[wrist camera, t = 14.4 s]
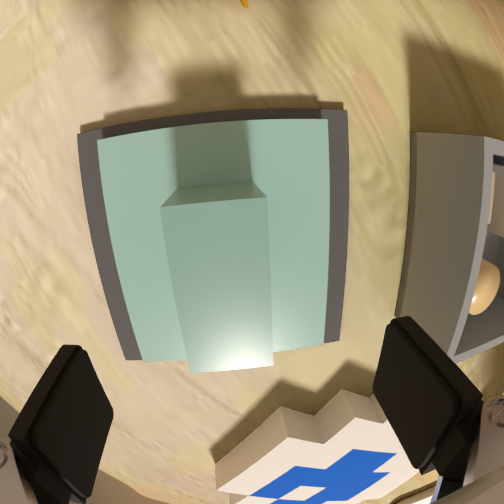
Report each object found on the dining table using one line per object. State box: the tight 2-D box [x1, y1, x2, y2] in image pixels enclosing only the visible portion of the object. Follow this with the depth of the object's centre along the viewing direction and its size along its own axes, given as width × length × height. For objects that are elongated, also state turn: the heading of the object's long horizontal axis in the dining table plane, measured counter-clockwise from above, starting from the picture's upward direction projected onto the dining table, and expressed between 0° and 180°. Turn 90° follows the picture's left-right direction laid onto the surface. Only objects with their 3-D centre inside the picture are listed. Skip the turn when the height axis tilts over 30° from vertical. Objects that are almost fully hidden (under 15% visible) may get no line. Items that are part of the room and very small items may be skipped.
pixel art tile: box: [215, 389, 419, 504], centre depth 28 cm, size 28×4×28 cm
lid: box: [97, 119, 330, 373], centre depth 15 cm, size 13×15×6 cm
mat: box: [77, 109, 349, 360], centre depth 18 cm, size 16×16×1 cm
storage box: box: [394, 132, 504, 364], centre depth 17 cm, size 12×14×7 cm
